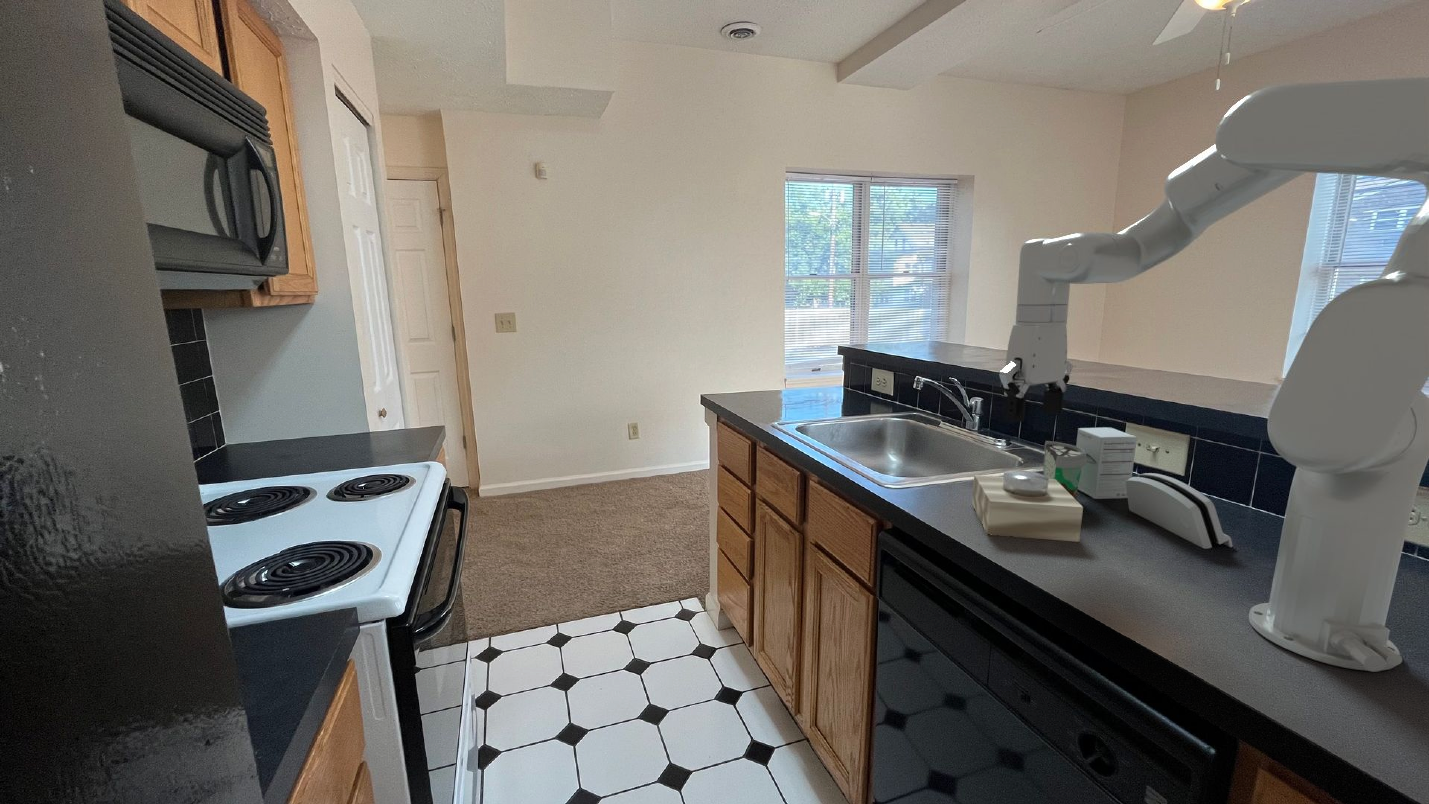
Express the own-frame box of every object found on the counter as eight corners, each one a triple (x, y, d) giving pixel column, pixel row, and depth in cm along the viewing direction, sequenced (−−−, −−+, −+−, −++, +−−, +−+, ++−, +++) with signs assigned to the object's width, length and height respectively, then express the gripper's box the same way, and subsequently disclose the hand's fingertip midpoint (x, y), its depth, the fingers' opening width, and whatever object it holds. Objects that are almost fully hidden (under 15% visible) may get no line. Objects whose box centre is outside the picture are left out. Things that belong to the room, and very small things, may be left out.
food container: (1089, 511, 111) (1095, 459, 109) (1052, 508, 113) (1057, 457, 111) (1074, 489, 122) (1079, 442, 120) (1040, 486, 124) (1045, 440, 122)
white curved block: (1235, 547, 95) (1224, 492, 93) (1206, 558, 95) (1194, 503, 93) (1154, 508, 112) (1143, 460, 110) (1130, 517, 112) (1118, 469, 110)
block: (1079, 541, 98) (1083, 507, 97) (987, 534, 101) (990, 501, 100) (1052, 510, 112) (1055, 479, 110) (972, 504, 115) (974, 474, 114)
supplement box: (1069, 486, 124) (1076, 427, 121) (1104, 485, 124) (1112, 426, 122) (1093, 499, 117) (1100, 436, 114) (1130, 498, 117) (1138, 435, 114)
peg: (1049, 528, 102) (1054, 484, 101) (1005, 525, 104) (1009, 481, 102) (1037, 513, 109) (1041, 471, 107) (996, 510, 110) (999, 469, 109)
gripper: (1053, 313, 106) (1045, 408, 109) (985, 317, 99) (980, 418, 102) (1096, 314, 100) (1086, 415, 103) (1027, 318, 92) (1019, 427, 95)
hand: (1033, 416), depth 102 cm, fingers open, 9 cm apart
